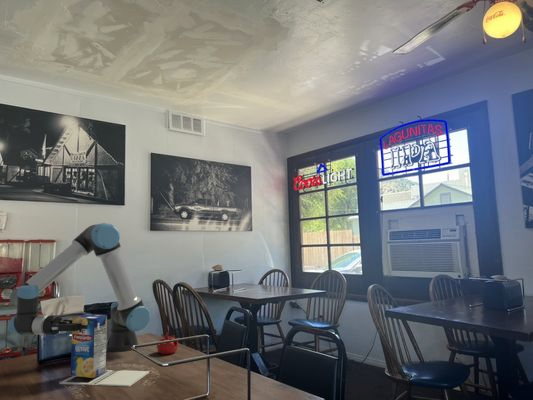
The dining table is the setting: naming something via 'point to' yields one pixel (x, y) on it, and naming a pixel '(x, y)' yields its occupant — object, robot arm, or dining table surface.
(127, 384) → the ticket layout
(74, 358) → the blue cardboard box
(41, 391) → the dining table surface
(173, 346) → the pomegranate
